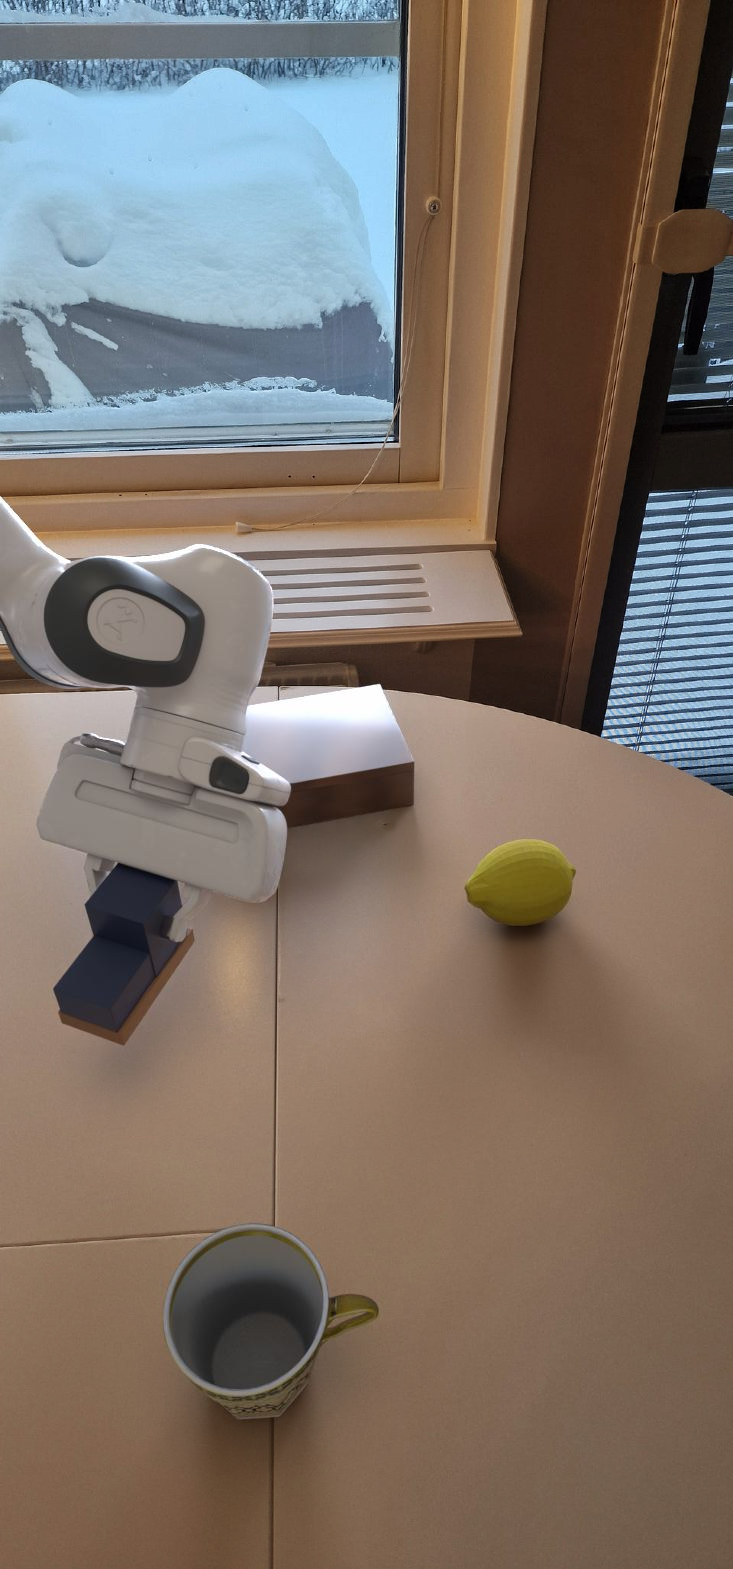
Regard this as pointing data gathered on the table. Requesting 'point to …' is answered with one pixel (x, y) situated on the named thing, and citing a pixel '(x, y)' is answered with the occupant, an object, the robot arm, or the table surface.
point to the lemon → (521, 882)
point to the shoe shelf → (333, 753)
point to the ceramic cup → (253, 1317)
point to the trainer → (122, 955)
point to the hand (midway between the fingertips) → (134, 927)
